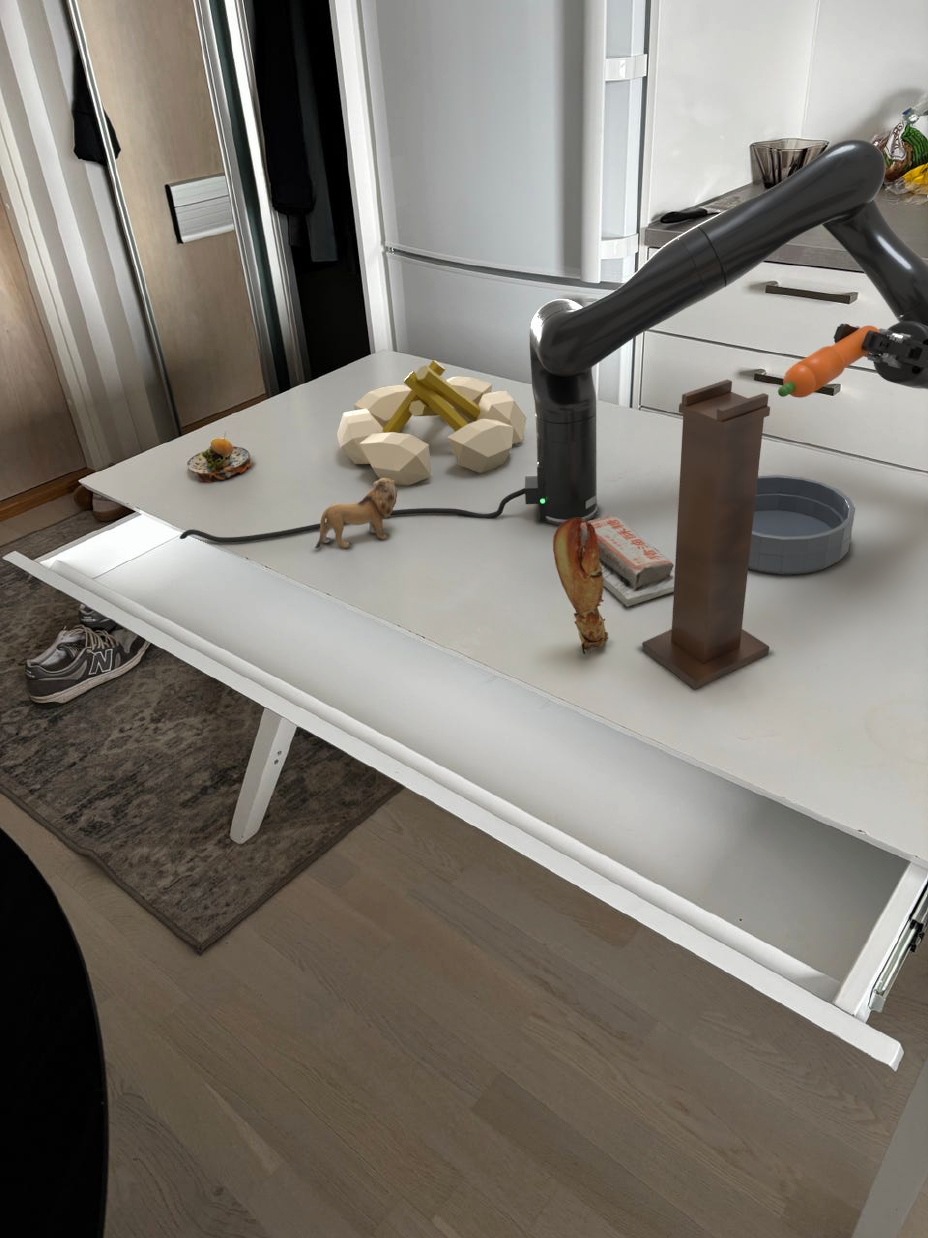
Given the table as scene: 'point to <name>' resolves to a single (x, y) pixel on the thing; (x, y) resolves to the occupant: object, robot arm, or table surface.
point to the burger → (219, 460)
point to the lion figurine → (360, 512)
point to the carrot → (824, 365)
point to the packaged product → (630, 562)
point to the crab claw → (581, 579)
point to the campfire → (428, 394)
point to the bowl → (798, 525)
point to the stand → (713, 536)
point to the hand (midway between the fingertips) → (853, 336)
